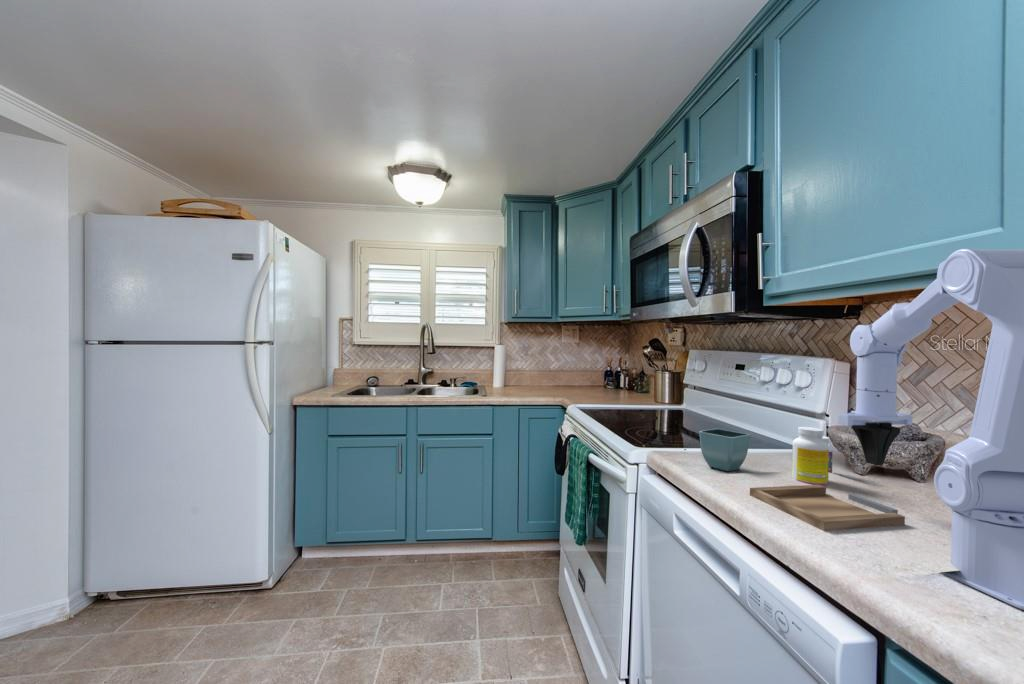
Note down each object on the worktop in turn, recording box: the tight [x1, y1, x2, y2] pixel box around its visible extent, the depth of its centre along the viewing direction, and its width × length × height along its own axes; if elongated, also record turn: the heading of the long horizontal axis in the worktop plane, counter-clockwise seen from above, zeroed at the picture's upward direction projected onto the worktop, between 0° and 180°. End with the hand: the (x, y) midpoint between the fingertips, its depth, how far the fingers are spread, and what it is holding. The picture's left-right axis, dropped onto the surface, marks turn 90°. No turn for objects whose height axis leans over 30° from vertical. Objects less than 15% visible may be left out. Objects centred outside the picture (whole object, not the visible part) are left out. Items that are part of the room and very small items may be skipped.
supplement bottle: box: [791, 426, 829, 486], centre depth 95 cm, size 7×7×13 cm
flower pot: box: [698, 428, 751, 472], centre depth 108 cm, size 9×9×9 cm
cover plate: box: [847, 493, 899, 514], centre depth 80 cm, size 12×12×3 cm
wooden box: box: [749, 484, 906, 532], centre depth 77 cm, size 16×16×3 cm
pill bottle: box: [822, 435, 834, 474], centre depth 106 cm, size 5×5×9 cm
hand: (874, 463), depth 79 cm, fingers closed
